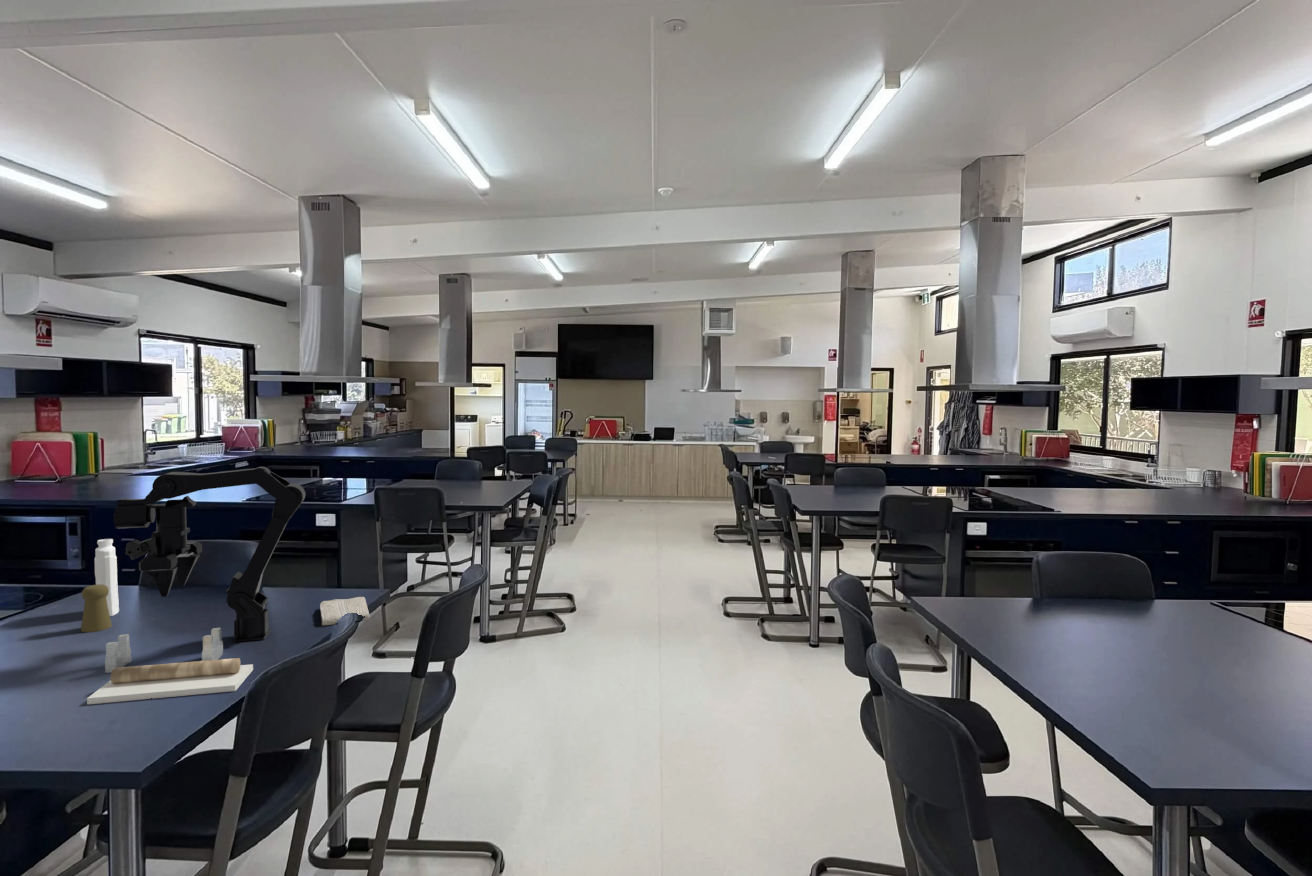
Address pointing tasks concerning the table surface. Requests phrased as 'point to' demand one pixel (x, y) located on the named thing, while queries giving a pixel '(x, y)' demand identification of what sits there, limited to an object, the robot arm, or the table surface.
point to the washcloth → (342, 609)
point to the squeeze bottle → (107, 572)
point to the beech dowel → (175, 670)
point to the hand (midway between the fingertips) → (173, 591)
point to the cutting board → (170, 687)
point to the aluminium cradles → (121, 652)
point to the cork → (95, 609)
